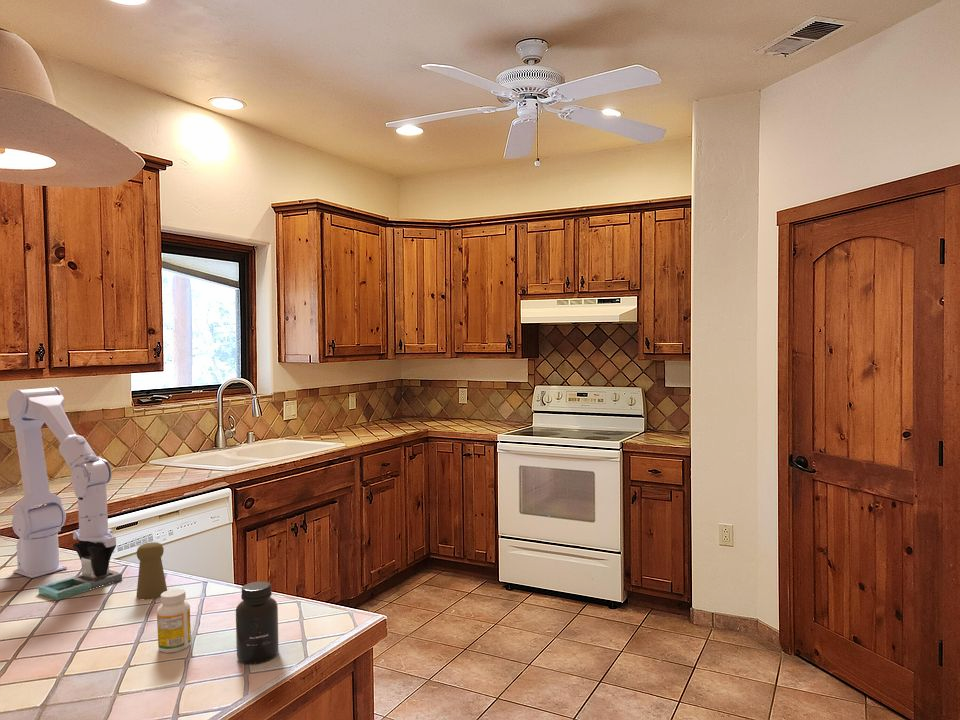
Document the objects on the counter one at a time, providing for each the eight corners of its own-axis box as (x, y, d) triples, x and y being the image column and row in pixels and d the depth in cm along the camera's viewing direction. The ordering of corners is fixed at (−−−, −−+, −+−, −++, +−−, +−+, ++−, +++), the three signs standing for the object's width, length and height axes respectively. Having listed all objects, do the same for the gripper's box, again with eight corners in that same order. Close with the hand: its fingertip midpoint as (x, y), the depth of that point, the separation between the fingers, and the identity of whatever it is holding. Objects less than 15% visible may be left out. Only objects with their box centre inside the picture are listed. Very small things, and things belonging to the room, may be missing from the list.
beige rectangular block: (82, 583, 156) (81, 557, 156) (100, 578, 159) (99, 552, 159) (91, 586, 154) (90, 560, 153) (109, 581, 157) (108, 555, 157)
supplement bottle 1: (174, 655, 118) (172, 600, 118) (151, 651, 120) (148, 596, 120) (198, 642, 123) (196, 589, 123) (175, 638, 125) (173, 586, 125)
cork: (136, 592, 149) (134, 542, 149) (167, 587, 152) (165, 538, 151) (135, 601, 143) (133, 549, 143) (167, 596, 146) (165, 545, 146)
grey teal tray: (38, 593, 150) (38, 586, 150) (103, 574, 162) (102, 568, 162) (57, 600, 146) (57, 593, 146) (122, 579, 157) (121, 573, 157)
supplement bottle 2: (255, 668, 112) (252, 596, 112) (228, 659, 116) (225, 588, 115) (287, 651, 118) (285, 582, 118) (260, 643, 122) (258, 576, 121)
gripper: (128, 514, 155) (130, 573, 156) (93, 507, 163) (96, 563, 164) (96, 521, 149) (99, 583, 150) (62, 513, 157) (65, 572, 158)
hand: (95, 573), depth 156 cm, fingers closed on beige rectangular block, 4 cm apart
